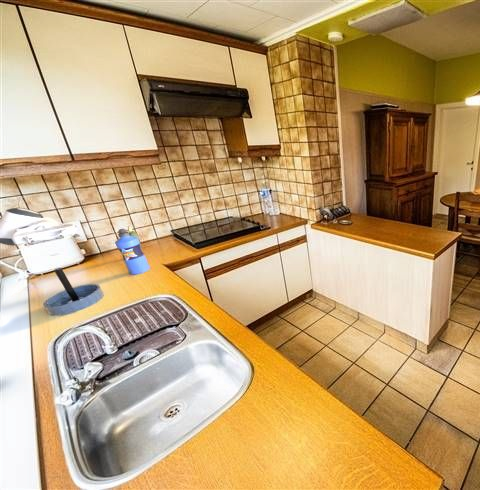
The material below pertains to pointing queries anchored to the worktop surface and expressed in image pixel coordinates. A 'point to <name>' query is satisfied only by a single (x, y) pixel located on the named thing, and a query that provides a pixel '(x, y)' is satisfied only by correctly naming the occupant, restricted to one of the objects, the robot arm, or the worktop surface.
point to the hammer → (67, 285)
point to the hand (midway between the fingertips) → (46, 237)
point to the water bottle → (132, 253)
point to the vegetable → (133, 234)
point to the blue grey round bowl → (61, 306)
